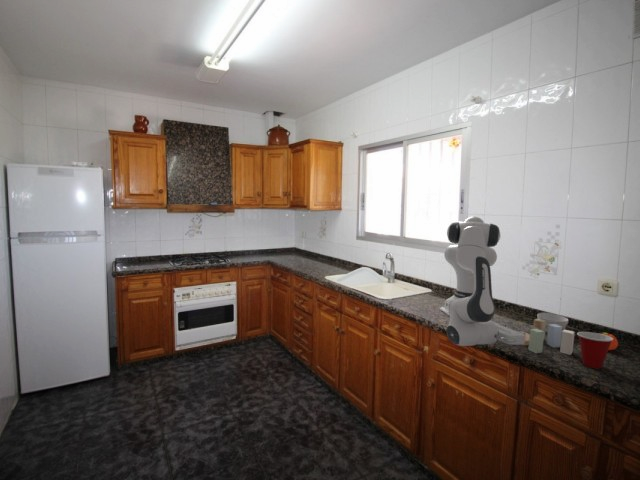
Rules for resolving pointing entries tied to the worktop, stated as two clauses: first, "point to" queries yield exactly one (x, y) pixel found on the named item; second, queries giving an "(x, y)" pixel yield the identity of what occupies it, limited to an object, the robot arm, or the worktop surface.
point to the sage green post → (536, 340)
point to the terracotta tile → (526, 339)
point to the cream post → (567, 342)
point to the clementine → (614, 342)
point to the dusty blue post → (554, 335)
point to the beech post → (539, 325)
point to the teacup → (553, 320)
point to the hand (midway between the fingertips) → (514, 329)
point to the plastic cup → (594, 348)
